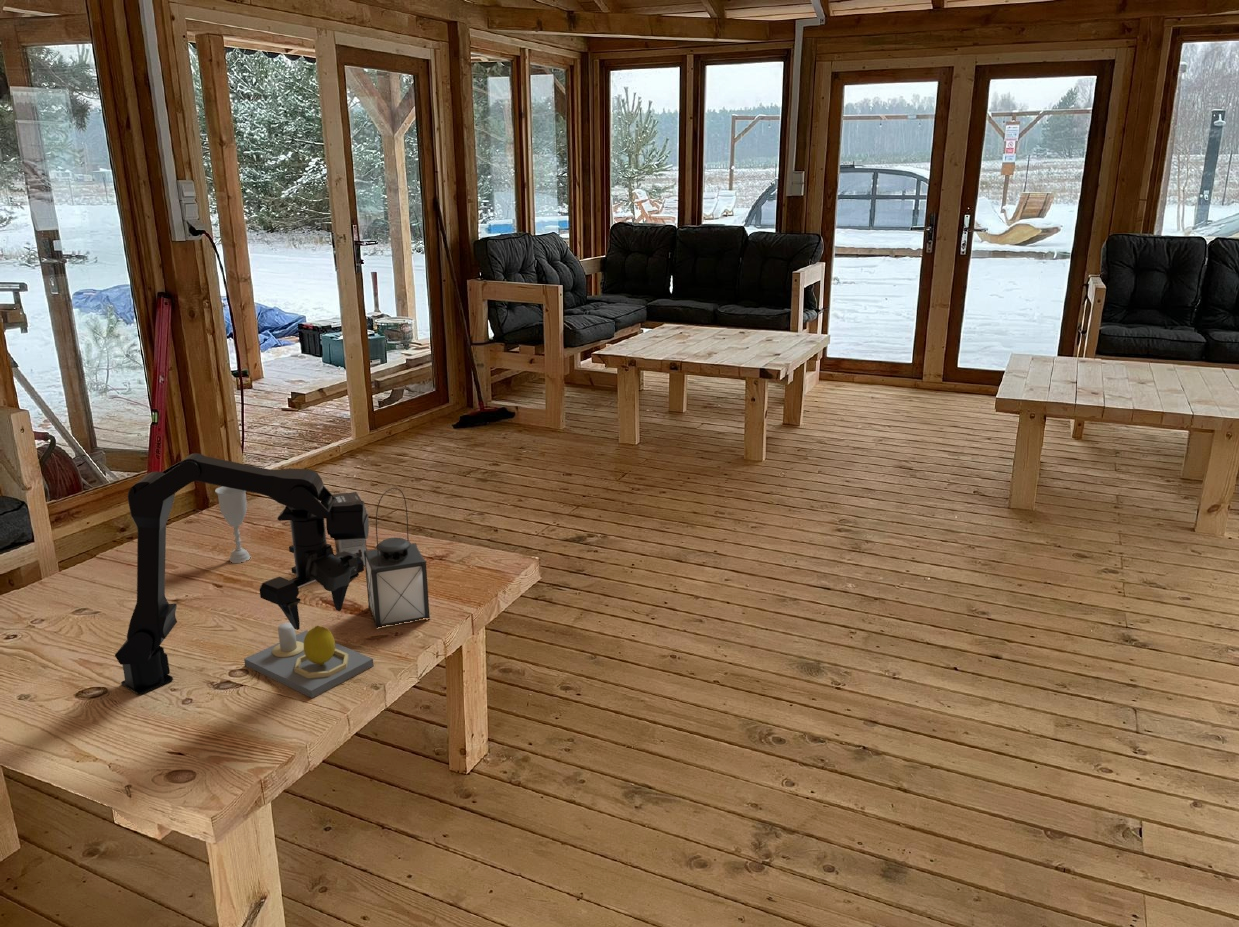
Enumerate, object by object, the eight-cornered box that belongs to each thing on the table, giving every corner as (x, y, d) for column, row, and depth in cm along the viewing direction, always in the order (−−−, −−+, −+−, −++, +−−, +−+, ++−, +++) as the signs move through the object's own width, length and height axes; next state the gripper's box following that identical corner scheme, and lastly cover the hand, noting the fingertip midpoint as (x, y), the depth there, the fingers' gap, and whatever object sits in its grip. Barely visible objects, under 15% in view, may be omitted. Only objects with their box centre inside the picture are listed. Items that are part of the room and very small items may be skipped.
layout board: (311, 698, 163) (308, 665, 161) (245, 665, 174) (240, 634, 172) (373, 665, 174) (370, 635, 172) (307, 637, 185) (303, 607, 183)
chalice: (218, 562, 221) (208, 492, 216) (237, 552, 228) (228, 483, 222) (243, 566, 219) (234, 495, 214) (262, 555, 225) (253, 486, 220)
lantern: (420, 599, 202) (411, 478, 194) (430, 620, 192) (421, 493, 184) (368, 607, 198) (357, 484, 190) (376, 629, 188) (364, 500, 180)
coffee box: (335, 556, 225) (329, 494, 220) (362, 552, 228) (356, 490, 223) (341, 570, 217) (335, 505, 213) (368, 565, 220) (363, 502, 215)
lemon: (327, 673, 168) (323, 634, 166) (300, 670, 169) (295, 631, 167) (342, 659, 173) (338, 620, 171) (315, 656, 175) (311, 618, 172)
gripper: (293, 568, 152) (302, 652, 157) (380, 534, 167) (387, 612, 172) (252, 553, 159) (263, 634, 163) (340, 522, 173) (348, 597, 178)
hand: (318, 619), depth 169 cm, fingers open, 9 cm apart
